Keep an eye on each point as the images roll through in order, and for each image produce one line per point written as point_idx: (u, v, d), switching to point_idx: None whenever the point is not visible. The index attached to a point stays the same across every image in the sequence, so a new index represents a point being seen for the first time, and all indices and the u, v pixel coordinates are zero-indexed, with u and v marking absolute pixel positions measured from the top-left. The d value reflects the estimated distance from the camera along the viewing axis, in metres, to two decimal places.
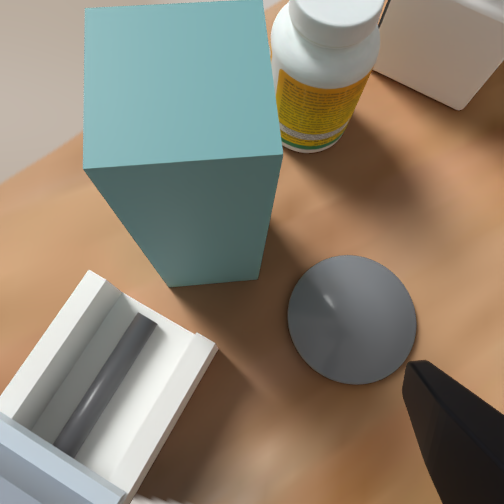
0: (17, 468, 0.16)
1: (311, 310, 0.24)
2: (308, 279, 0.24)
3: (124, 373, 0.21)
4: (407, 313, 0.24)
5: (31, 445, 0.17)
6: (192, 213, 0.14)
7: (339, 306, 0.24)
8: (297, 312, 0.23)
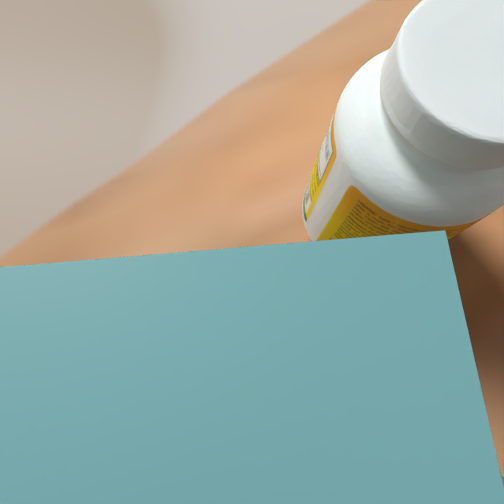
0: None
1: None
2: None
3: None
4: None
5: None
6: None
7: None
8: None
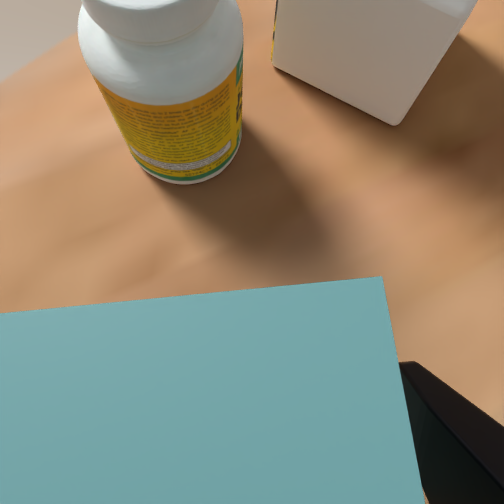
0: None
1: None
2: None
3: None
4: None
5: None
6: None
7: None
8: None
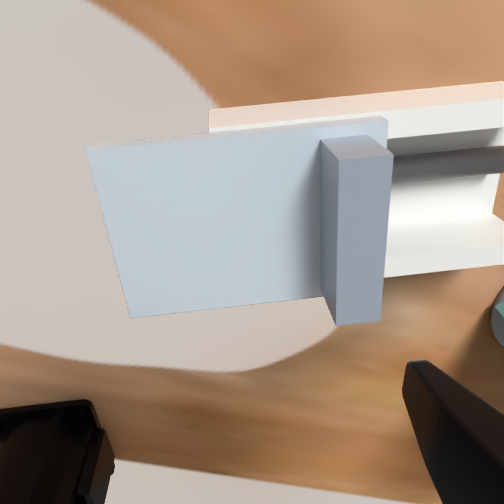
0: None
1: None
2: None
3: (437, 179, 0.19)
4: None
5: None
6: None
7: None
8: None
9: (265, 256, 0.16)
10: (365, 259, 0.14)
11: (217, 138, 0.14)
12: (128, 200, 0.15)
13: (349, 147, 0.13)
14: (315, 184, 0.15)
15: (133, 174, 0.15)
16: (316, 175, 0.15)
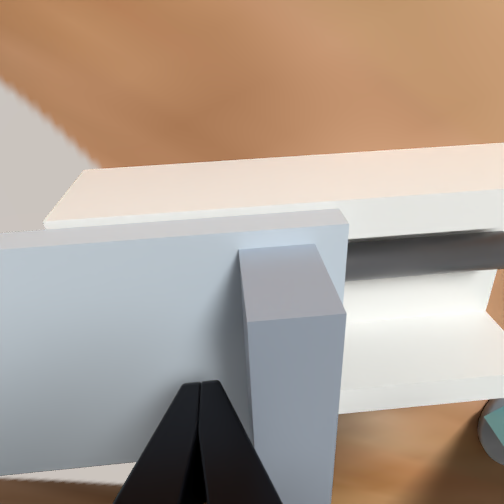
0: None
1: None
2: None
3: None
4: None
5: None
6: None
7: None
8: None
9: (163, 403, 0.11)
10: (302, 454, 0.09)
11: (65, 246, 0.09)
12: None
13: (277, 281, 0.08)
14: (234, 311, 0.10)
15: None
16: (234, 300, 0.09)
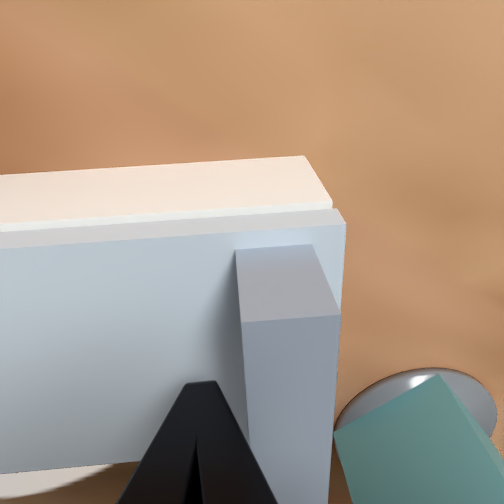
0: None
1: None
2: None
3: None
4: None
5: None
6: None
7: None
8: (395, 392, 0.17)
9: (161, 403, 0.11)
10: (298, 455, 0.09)
11: (62, 246, 0.09)
12: None
13: (273, 281, 0.08)
14: (231, 312, 0.10)
15: None
16: (231, 300, 0.09)
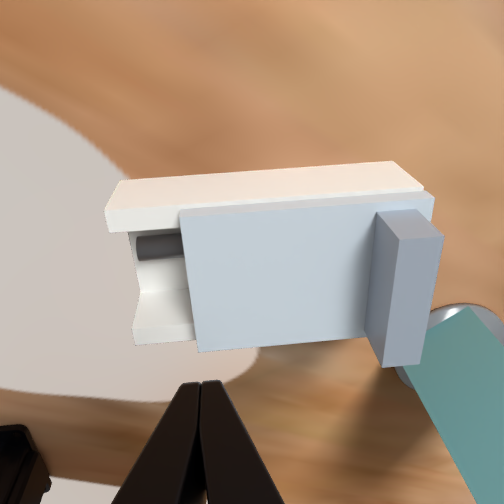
0: None
1: None
2: None
3: None
4: None
5: None
6: None
7: None
8: (438, 319, 0.26)
9: (319, 304, 0.19)
10: (412, 316, 0.17)
11: (291, 210, 0.17)
12: (209, 256, 0.17)
13: (404, 224, 0.16)
14: (368, 247, 0.18)
15: (216, 236, 0.17)
16: (370, 240, 0.18)
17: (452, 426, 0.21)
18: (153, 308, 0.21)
